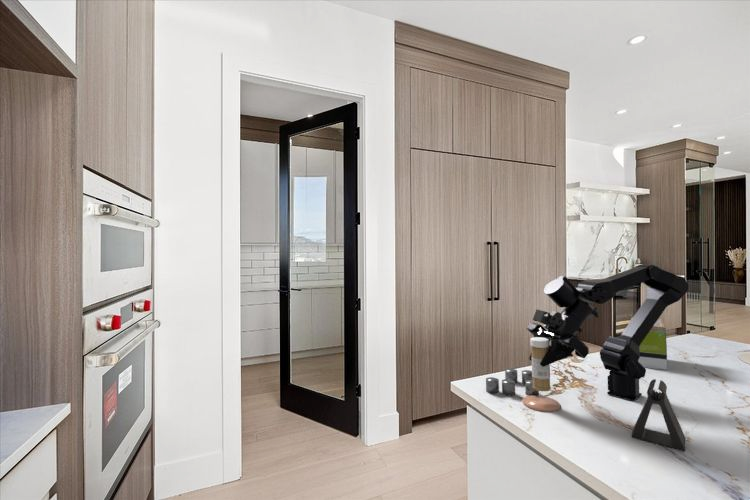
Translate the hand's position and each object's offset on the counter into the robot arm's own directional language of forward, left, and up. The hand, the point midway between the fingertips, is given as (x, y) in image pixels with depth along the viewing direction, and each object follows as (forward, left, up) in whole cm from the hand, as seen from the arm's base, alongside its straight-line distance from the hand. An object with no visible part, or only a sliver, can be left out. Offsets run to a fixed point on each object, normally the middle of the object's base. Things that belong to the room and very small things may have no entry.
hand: (535, 362), depth 97 cm
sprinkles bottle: (-1, -1, -7) cm, 7 cm away
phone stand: (-26, -3, -11) cm, 28 cm away
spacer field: (+9, -6, -11) cm, 16 cm away
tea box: (-8, -63, -11) cm, 65 cm away
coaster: (-1, -1, -11) cm, 11 cm away
